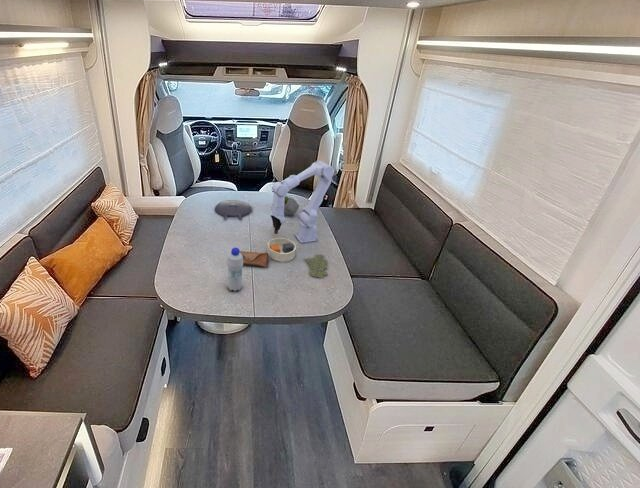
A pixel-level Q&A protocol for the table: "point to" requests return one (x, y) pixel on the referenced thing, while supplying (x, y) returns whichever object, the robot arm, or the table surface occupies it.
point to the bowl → (280, 256)
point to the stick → (275, 231)
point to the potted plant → (290, 206)
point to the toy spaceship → (233, 208)
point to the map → (317, 266)
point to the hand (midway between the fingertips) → (276, 228)
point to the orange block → (275, 248)
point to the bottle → (235, 269)
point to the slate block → (287, 247)
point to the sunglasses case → (255, 259)
